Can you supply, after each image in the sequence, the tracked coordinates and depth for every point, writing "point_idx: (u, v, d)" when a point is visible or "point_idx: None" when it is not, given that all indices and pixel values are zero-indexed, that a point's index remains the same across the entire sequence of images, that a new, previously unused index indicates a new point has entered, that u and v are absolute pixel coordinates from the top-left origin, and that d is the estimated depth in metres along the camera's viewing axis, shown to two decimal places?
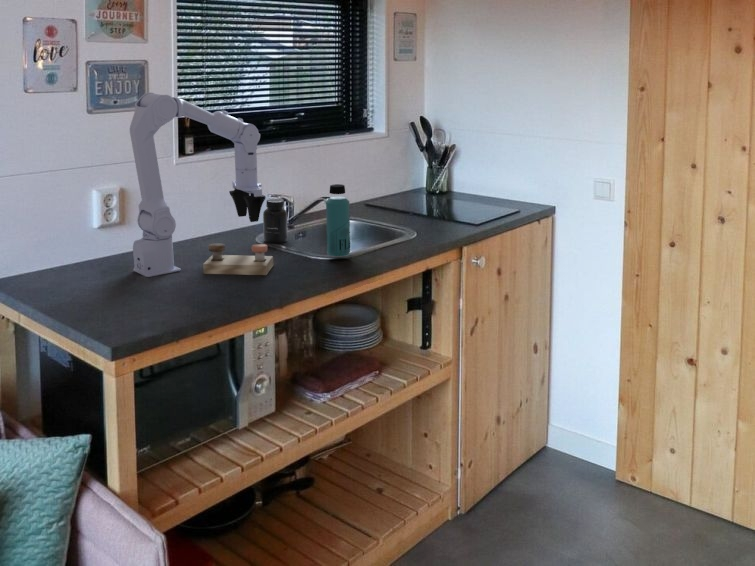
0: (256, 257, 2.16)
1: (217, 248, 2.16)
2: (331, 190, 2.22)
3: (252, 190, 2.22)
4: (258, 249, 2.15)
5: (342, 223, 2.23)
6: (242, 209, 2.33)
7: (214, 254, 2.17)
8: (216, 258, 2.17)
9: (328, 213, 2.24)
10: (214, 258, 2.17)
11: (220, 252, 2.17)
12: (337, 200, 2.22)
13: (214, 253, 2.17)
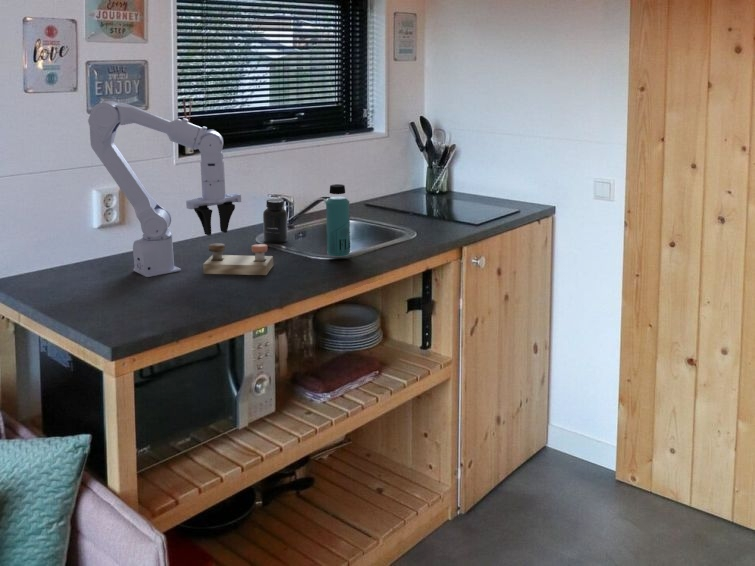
0: (256, 257, 2.16)
1: (217, 248, 2.16)
2: (331, 190, 2.22)
3: None
4: (258, 249, 2.15)
5: (342, 223, 2.23)
6: (222, 224, 2.17)
7: (214, 254, 2.17)
8: (216, 258, 2.17)
9: (328, 213, 2.24)
10: (214, 258, 2.17)
11: (220, 252, 2.17)
12: (337, 200, 2.22)
13: (214, 253, 2.17)
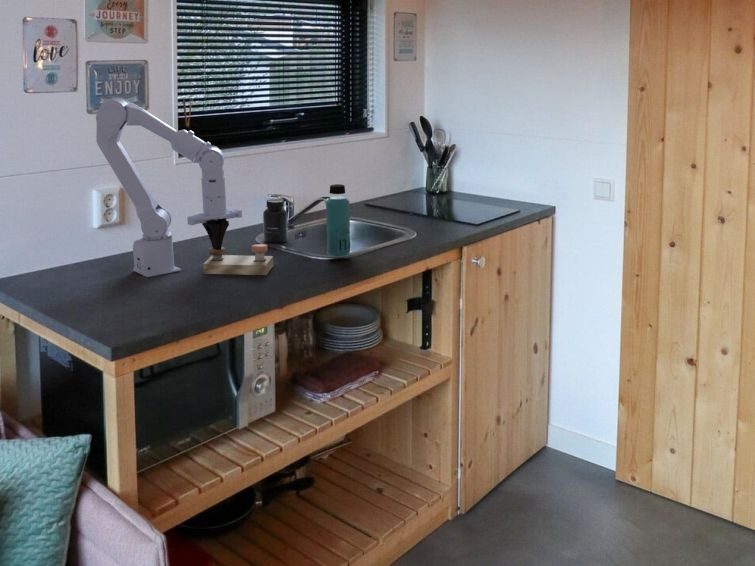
0: (256, 257, 2.16)
1: (217, 251, 2.16)
2: (331, 190, 2.22)
3: None
4: (258, 249, 2.15)
5: (342, 223, 2.23)
6: None
7: (214, 257, 2.17)
8: None
9: (328, 213, 2.24)
10: None
11: (220, 255, 2.17)
12: (337, 200, 2.22)
13: (214, 256, 2.17)
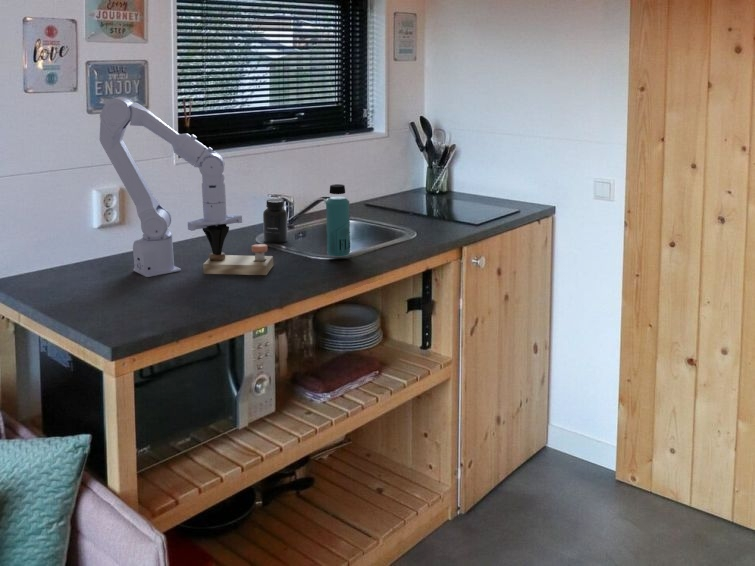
0: (256, 257, 2.16)
1: (217, 257, 2.16)
2: (331, 190, 2.22)
3: None
4: (258, 249, 2.15)
5: (342, 223, 2.23)
6: None
7: None
8: None
9: (328, 213, 2.24)
10: None
11: None
12: (337, 200, 2.22)
13: None
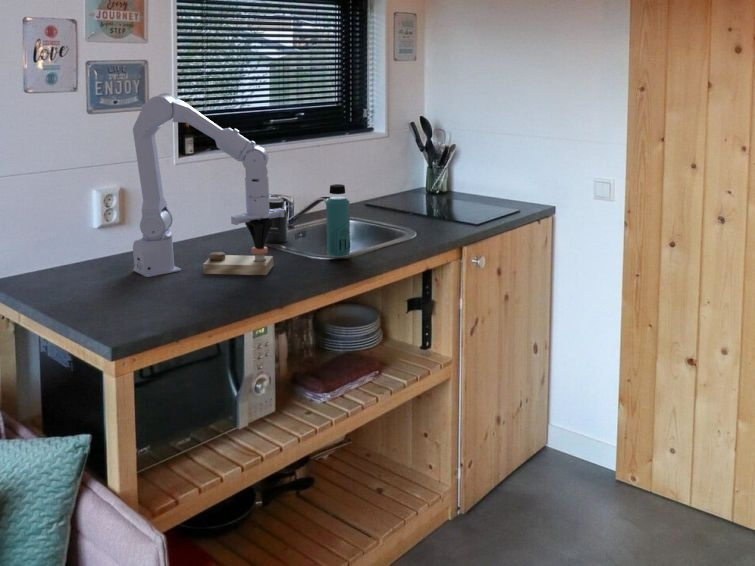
0: (256, 259, 2.17)
1: (217, 257, 2.16)
2: (331, 190, 2.22)
3: None
4: (258, 251, 2.15)
5: (342, 223, 2.23)
6: None
7: None
8: None
9: (328, 213, 2.24)
10: None
11: None
12: (337, 200, 2.22)
13: None
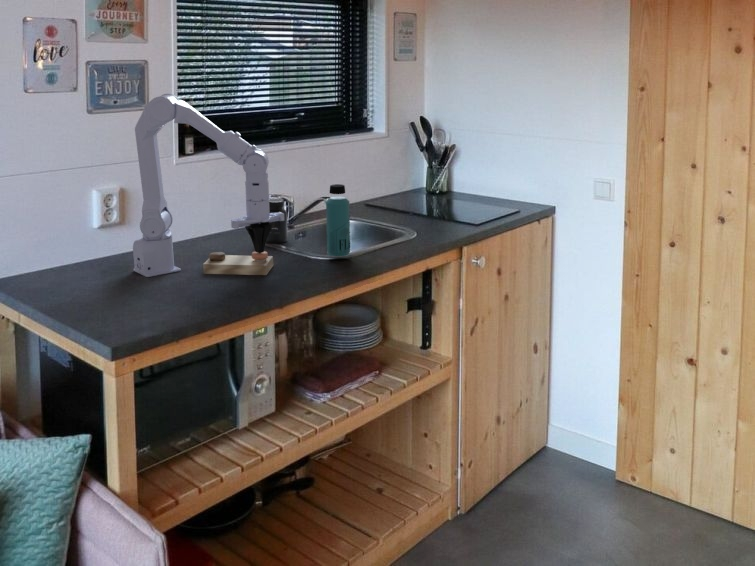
0: None
1: (217, 257, 2.16)
2: (331, 190, 2.22)
3: None
4: (258, 256, 2.15)
5: (342, 223, 2.23)
6: None
7: None
8: None
9: (328, 213, 2.24)
10: None
11: None
12: (337, 200, 2.22)
13: None
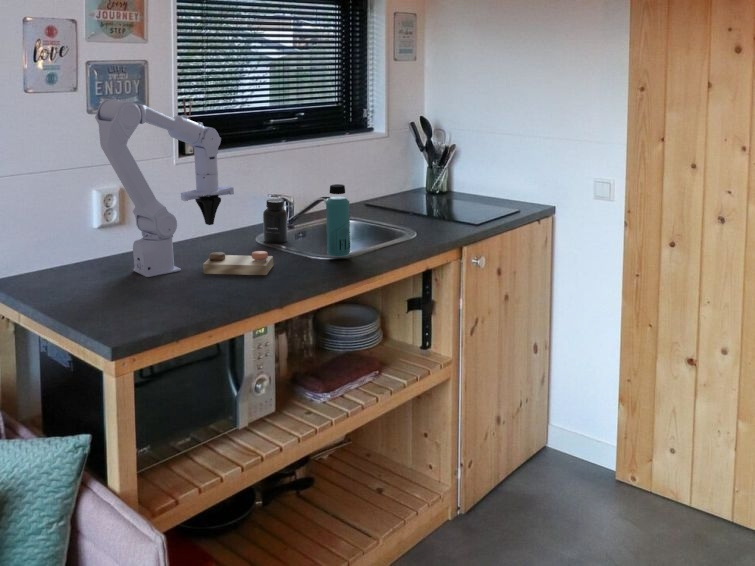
0: None
1: (217, 257, 2.16)
2: (331, 190, 2.22)
3: None
4: (258, 256, 2.15)
5: (342, 223, 2.23)
6: None
7: None
8: None
9: (328, 213, 2.24)
10: None
11: None
12: (337, 200, 2.22)
13: None
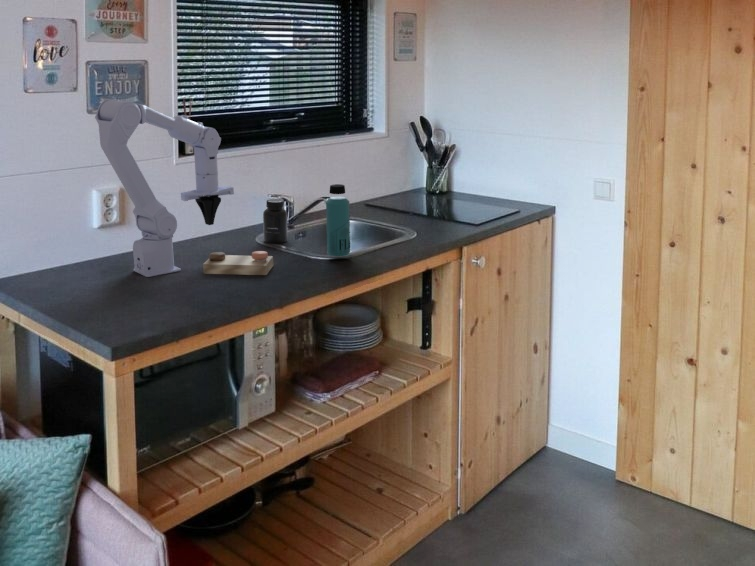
0: None
1: (217, 257, 2.16)
2: (331, 190, 2.22)
3: None
4: (258, 256, 2.15)
5: (342, 223, 2.23)
6: None
7: None
8: None
9: (328, 213, 2.24)
10: None
11: None
12: (337, 200, 2.22)
13: None
